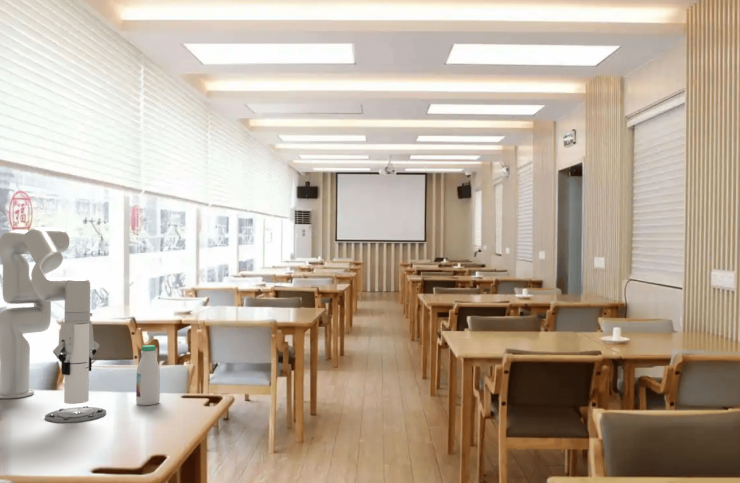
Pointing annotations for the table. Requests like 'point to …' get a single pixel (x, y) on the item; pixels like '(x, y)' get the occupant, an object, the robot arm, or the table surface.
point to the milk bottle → (148, 378)
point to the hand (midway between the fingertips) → (76, 372)
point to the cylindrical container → (78, 367)
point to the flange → (75, 414)
